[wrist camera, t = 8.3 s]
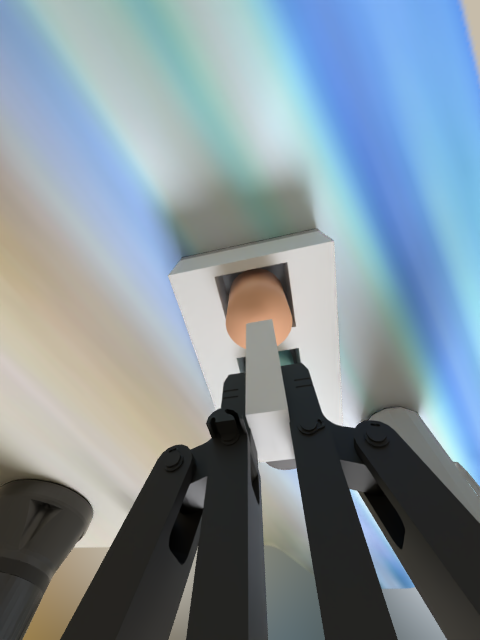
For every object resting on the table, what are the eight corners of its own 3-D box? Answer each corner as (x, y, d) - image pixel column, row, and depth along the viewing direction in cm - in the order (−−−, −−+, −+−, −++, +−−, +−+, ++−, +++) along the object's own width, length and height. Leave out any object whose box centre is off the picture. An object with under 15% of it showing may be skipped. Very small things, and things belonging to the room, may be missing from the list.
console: (235, 424, 34) (234, 460, 30) (182, 257, 24) (167, 275, 20) (330, 411, 33) (344, 447, 28) (316, 228, 23) (334, 240, 18)
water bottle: (351, 442, 35) (528, 881, 13) (371, 398, 32) (661, 908, 10) (419, 447, 36) (702, 887, 14) (446, 405, 32) (897, 915, 10)
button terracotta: (235, 321, 23) (233, 355, 19) (223, 274, 21) (218, 300, 17) (286, 312, 23) (295, 345, 18) (278, 263, 21) (287, 286, 16)
